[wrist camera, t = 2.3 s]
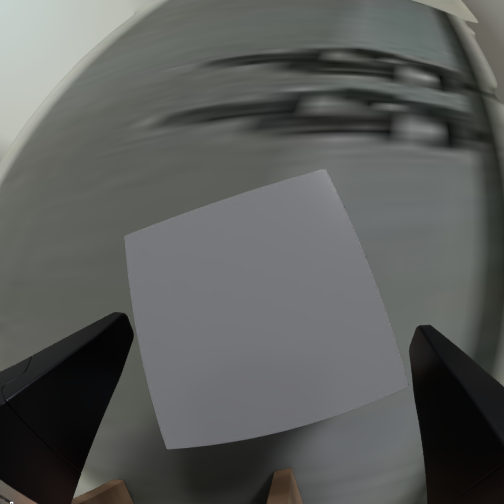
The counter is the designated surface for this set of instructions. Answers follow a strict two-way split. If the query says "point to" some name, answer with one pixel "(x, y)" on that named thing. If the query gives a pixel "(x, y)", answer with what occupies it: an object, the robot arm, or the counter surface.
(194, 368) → the granite block
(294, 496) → the walnut frame
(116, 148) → the counter surface
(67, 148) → the counter surface
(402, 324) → the counter surface
